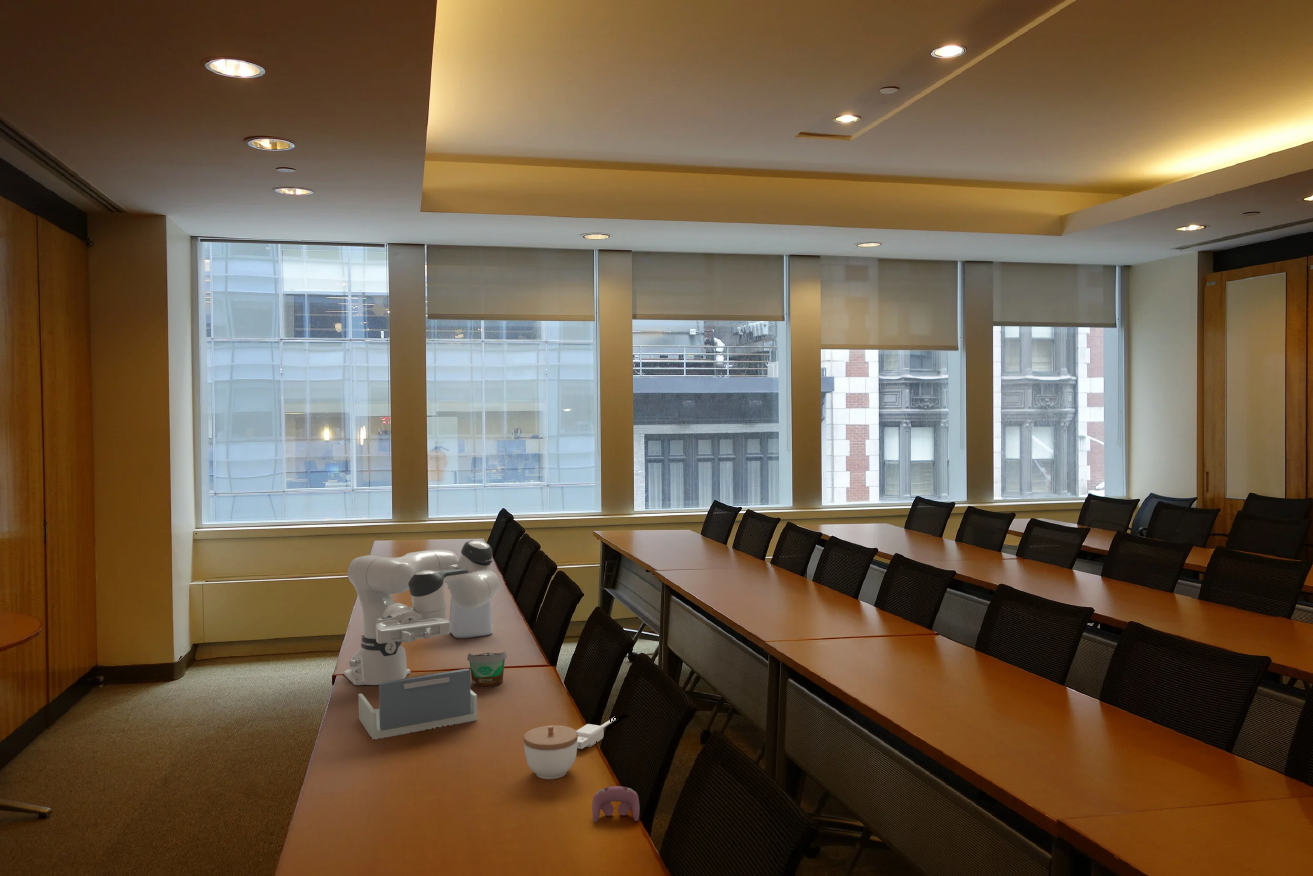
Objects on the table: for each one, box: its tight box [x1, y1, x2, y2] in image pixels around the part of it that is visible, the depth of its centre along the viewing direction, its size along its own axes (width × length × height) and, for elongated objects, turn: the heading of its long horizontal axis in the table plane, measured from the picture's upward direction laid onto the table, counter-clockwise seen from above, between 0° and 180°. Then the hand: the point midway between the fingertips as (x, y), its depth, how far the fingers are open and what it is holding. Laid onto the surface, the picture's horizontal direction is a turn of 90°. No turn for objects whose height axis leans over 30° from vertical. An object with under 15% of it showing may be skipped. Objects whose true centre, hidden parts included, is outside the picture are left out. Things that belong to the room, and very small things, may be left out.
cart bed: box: [358, 688, 478, 740], centre depth 244 cm, size 18×28×7 cm, turn 120°
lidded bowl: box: [523, 724, 578, 780], centre depth 207 cm, size 13×13×11 cm
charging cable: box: [576, 717, 617, 750], centre depth 235 cm, size 5×32×3 cm, turn 156°
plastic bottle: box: [449, 597, 494, 639], centre depth 338 cm, size 15×15×28 cm
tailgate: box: [378, 668, 471, 730], centre depth 236 cm, size 2×24×12 cm, turn 119°
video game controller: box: [591, 785, 640, 823], centre depth 185 cm, size 10×5×7 cm, turn 92°
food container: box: [466, 650, 508, 689], centre depth 274 cm, size 12×6×10 cm, turn 105°
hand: (420, 636), depth 240 cm, fingers open, 3 cm apart
